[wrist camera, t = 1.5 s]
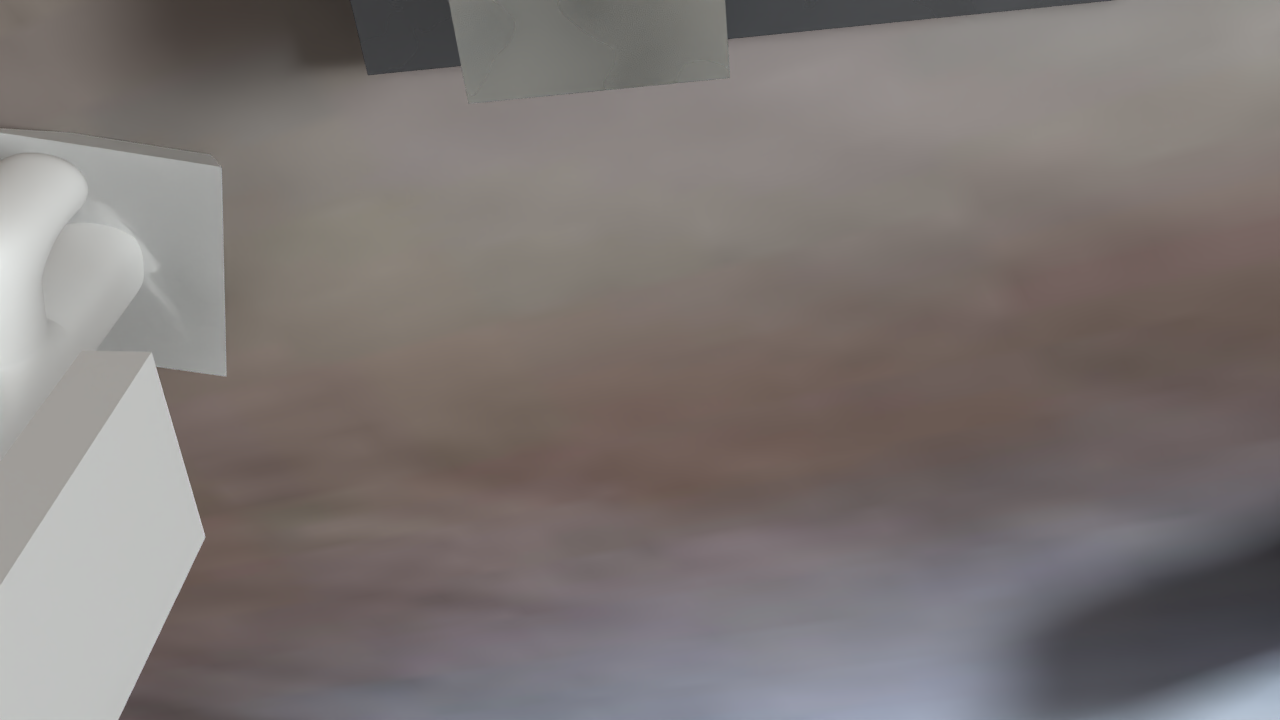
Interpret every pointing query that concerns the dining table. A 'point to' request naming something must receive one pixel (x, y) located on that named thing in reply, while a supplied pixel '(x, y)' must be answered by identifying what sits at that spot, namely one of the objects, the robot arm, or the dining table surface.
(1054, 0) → the dark grey flat block
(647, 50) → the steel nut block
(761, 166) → the dining table surface
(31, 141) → the figurine
